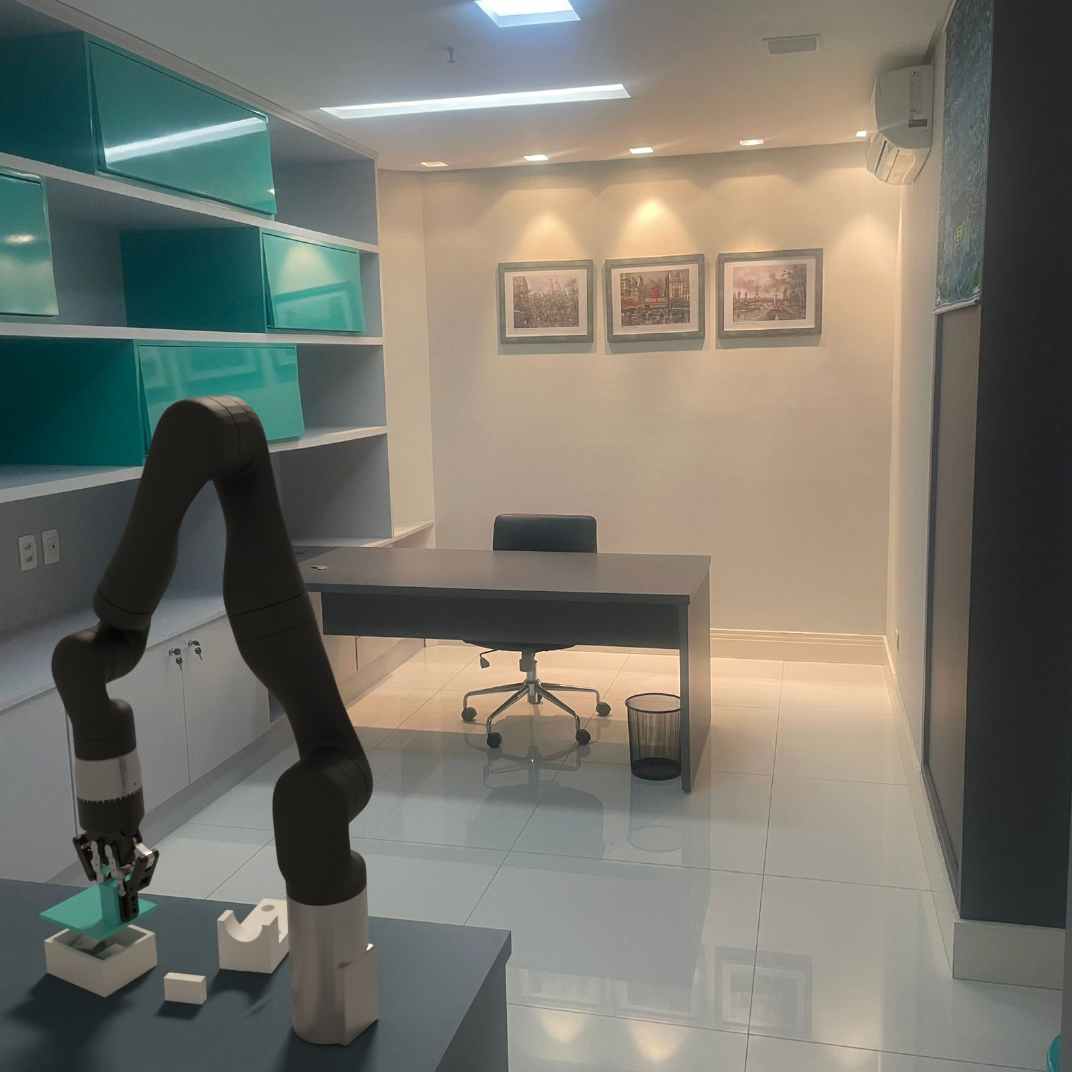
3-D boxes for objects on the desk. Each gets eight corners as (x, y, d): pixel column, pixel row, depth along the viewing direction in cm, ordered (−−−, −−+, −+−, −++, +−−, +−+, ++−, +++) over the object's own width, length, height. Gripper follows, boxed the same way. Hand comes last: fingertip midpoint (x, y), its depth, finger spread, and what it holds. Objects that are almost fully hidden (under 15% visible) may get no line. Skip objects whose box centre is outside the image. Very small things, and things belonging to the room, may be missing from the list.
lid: (157, 908, 134) (154, 867, 134) (101, 941, 127) (96, 898, 126) (97, 888, 140) (93, 849, 139) (39, 918, 133) (35, 877, 132)
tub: (157, 968, 136) (154, 933, 135) (105, 1001, 129) (102, 964, 128) (100, 946, 141) (97, 911, 140) (47, 976, 134) (44, 940, 133)
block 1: (106, 957, 137) (105, 936, 137) (93, 970, 134) (91, 949, 134) (85, 955, 138) (83, 934, 137) (72, 968, 135) (70, 947, 134)
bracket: (271, 980, 134) (268, 925, 132) (220, 974, 135) (216, 920, 134) (312, 926, 146) (309, 876, 145) (264, 921, 148) (262, 871, 146)
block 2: (133, 971, 134) (131, 949, 134) (113, 983, 132) (112, 961, 131) (117, 964, 136) (115, 943, 135) (97, 976, 133) (96, 954, 133)
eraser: (170, 999, 130) (168, 972, 129) (207, 1003, 129) (205, 976, 128) (165, 1005, 128) (163, 977, 128) (202, 1009, 127) (200, 982, 127)
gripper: (173, 784, 128) (184, 916, 131) (97, 765, 135) (109, 890, 138) (122, 807, 122) (135, 945, 125) (45, 786, 129) (59, 917, 132)
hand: (121, 916), depth 131 cm, fingers closed on lid, 2 cm apart
